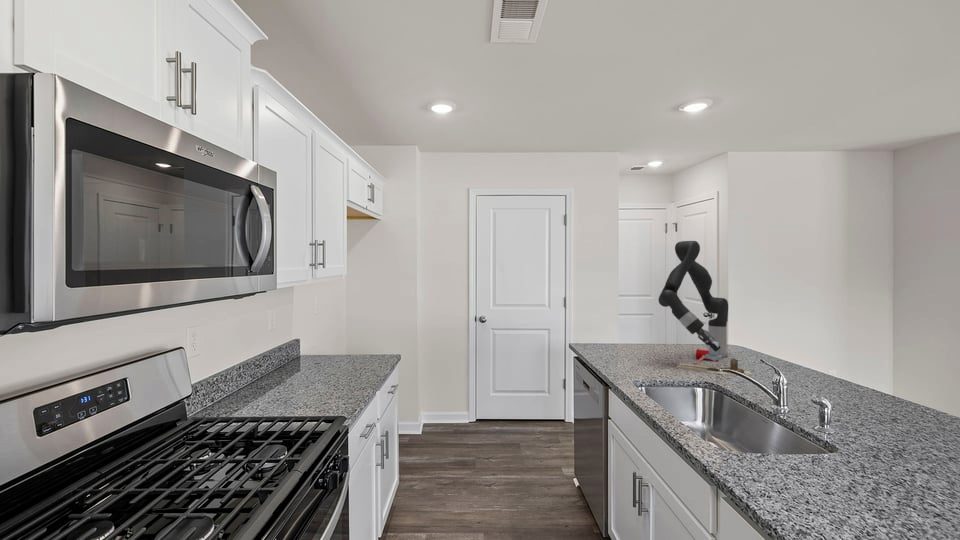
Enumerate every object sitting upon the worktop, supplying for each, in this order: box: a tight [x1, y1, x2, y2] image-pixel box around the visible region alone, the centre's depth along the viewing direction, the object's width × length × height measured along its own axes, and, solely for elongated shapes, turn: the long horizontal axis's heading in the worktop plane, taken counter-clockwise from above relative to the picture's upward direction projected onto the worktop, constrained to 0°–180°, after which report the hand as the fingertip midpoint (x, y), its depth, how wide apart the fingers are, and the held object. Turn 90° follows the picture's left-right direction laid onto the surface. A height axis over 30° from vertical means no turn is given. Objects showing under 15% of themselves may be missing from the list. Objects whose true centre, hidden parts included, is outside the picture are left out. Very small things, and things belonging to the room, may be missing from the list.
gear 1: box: [705, 341, 723, 361], centre depth 213 cm, size 7×7×8 cm
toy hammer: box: [692, 347, 719, 365], centre depth 233 cm, size 23×12×6 cm, turn 138°
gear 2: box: [723, 357, 745, 373], centre depth 208 cm, size 8×8×7 cm
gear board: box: [674, 362, 751, 377], centre depth 214 cm, size 13×31×1 cm, turn 54°
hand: (718, 349), depth 212 cm, fingers closed on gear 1, 4 cm apart
